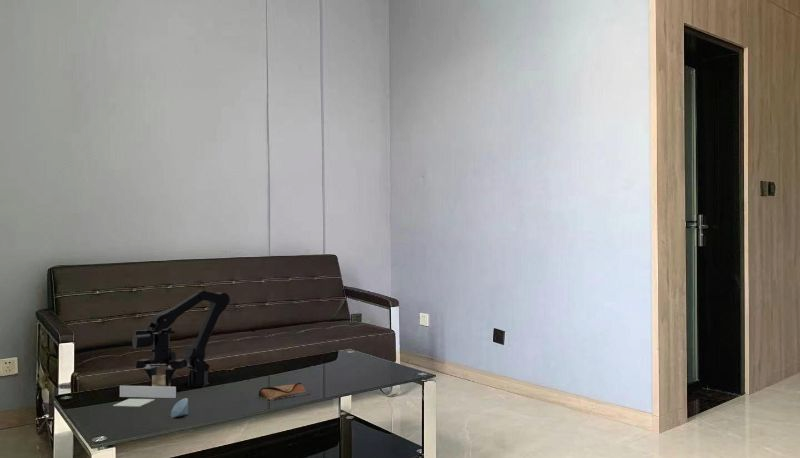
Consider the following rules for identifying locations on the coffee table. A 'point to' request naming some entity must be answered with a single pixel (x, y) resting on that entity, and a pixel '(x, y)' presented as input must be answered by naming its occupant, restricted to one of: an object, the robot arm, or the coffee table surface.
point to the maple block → (160, 380)
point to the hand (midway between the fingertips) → (161, 386)
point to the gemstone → (180, 408)
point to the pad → (134, 402)
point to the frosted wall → (148, 391)
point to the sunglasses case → (281, 391)
